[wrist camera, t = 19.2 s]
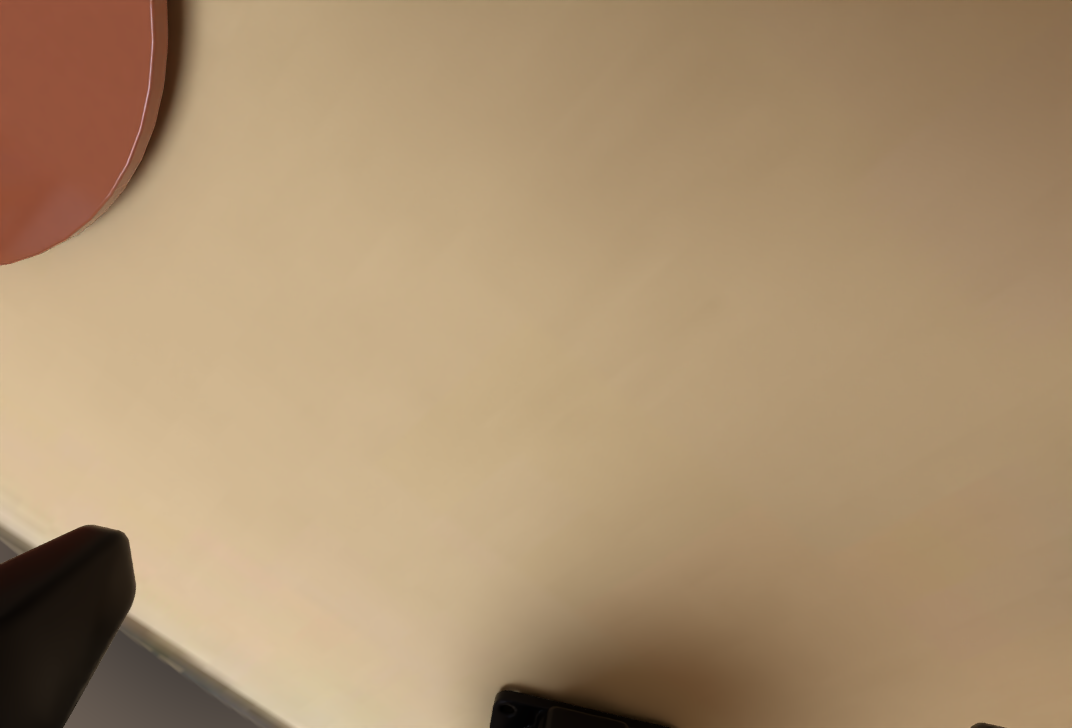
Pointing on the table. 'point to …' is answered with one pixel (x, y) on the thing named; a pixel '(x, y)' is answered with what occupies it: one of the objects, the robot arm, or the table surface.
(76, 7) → the plate
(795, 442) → the table surface
